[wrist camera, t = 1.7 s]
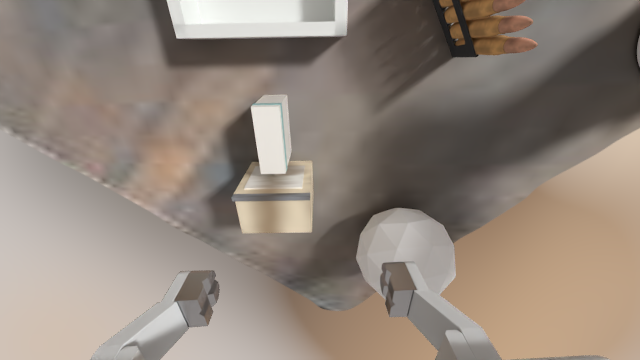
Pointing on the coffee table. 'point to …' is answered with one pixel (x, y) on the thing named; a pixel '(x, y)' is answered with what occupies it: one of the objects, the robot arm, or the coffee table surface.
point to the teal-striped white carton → (272, 133)
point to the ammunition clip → (482, 27)
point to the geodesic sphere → (406, 247)
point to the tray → (258, 18)
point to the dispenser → (276, 199)
